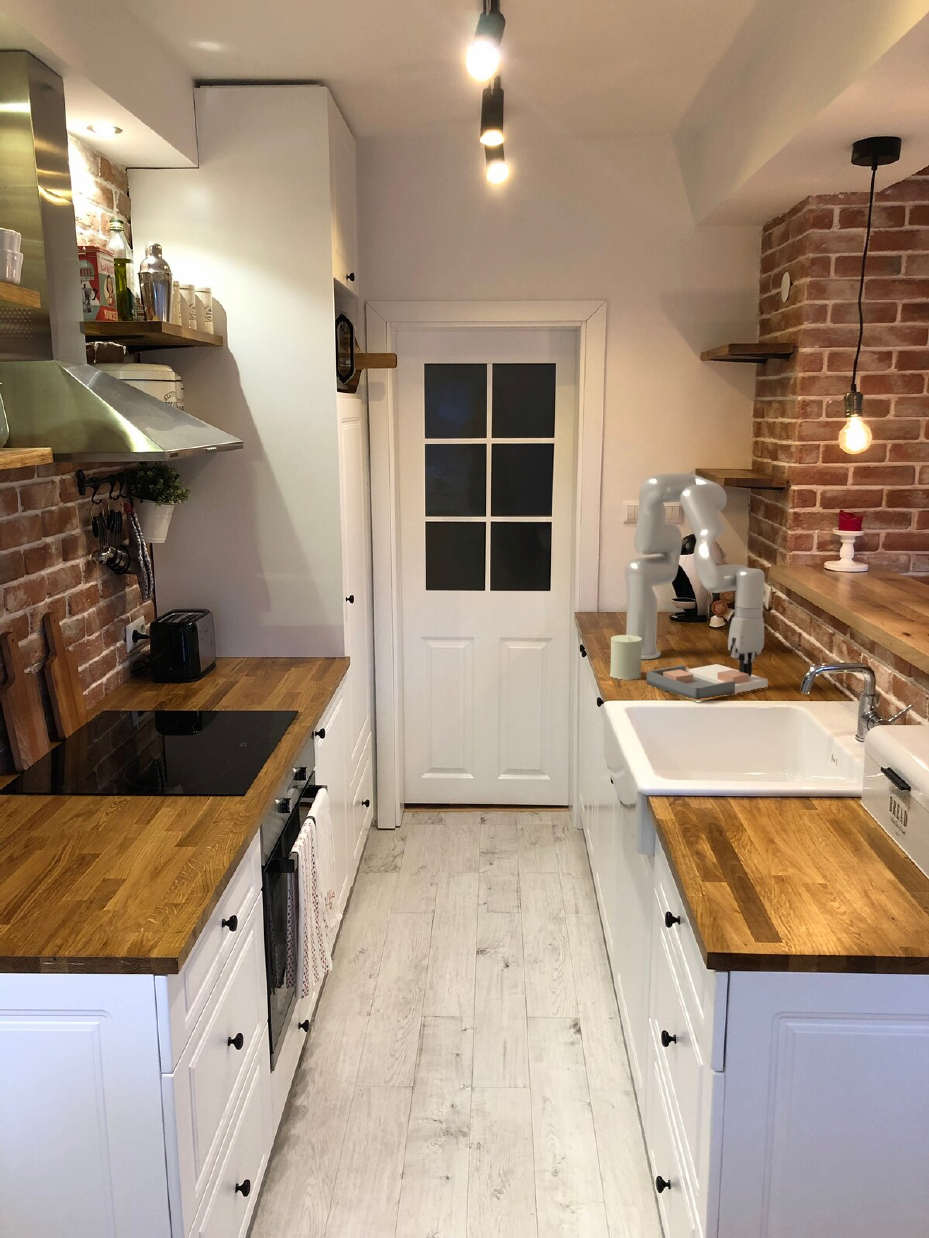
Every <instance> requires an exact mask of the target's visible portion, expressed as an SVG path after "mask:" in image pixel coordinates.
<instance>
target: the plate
mask: <svg viewBox="0 0 929 1238" xmlns="http://www.w3.org/2000/svg"><path fill="white" fill-rule="evenodd" d="M728 670H736V671H739V669H734V668H733V667H732V668H731V667H729V666H725V665H721V664H718V663H715V664H711V665H705V666H704V665H703V666H698V667H694V668H688V669H686V672H688V673H691V674H693V676H694V677H697V678H700V679H703V680H706V681H709V682H712V683H715V684H717V683H723V682H724V681H721V680H718V679H717V677H718V672H723V671H728ZM768 683H769V679H767V678H764V677H761V676H757V675H754V674H751V676H750V677H749V681H747V682H742V683H737V684H735V693H738V692H742V691H750V690H753V689H757V688H764V687H767V688H768ZM750 692H751V691H750Z"/></svg>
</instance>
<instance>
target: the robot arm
mask: <svg viewBox="0 0 929 1238" xmlns="http://www.w3.org/2000/svg"><path fill="white" fill-rule="evenodd" d="M638 491H639V492H638V515H637V520H636V525H635V534H634V541H633V542H634V549H635V551H636V552H637V553H638V554H640V555H648V556H644V557H638V558H634V559H632V560H631V561H629V562H628V563H627V564H626V566H625V569H624V581H625V585H626V629H625V630H626V632H625V633H626V634H625V635H633V636H638V637H641V638H642V647H641V660H653V659H657V658H660V657H661V653H662V652H661V651H660V650H659V649H657V625H658V599H657V595H656V593H655V591H654V590H653V588H654V587H660V586H665V585H669V584H671V583H672V582H674V580H675V579H676V577H677V574H678V570H679V564H680V559H681V551H682V546H683V536H682V535H683V534H682V532H681V530H680V528H679V527H678V526H677V525H676V524H675V523H672V522H666V520H667V519H666V517H667V511H666V506H665V504H664V503H678V502H679V503H680V505H681V508H682V510H683V511H684V514H685V516H686V519H687V521H688V523H689V525H690V528H691V529H692V533H693V535H694V537H695V541H696V542H695V545H694V550H693V565H694V569H695V572H696V574H697V576H698V578H699V581H700V583H701V584H702V586H703V588H704V589H705V590H707V591H708V592H710V593H713V594H718V593H725V592H735V596H734V597H735V599H734V616H733V617H731V618H732V619H731V621H730V625H729V626H730V627H729V631H728V632H729V633H728V638H727V639H728V640H727V650H728V651H729V652H731V654H730V657H731V658H734V659H737V661H738V662H739V667H738V671H739V672H743V673H746V674H749V677H750V676H751V674H752V673H753V671H752V670H753V669H752V668H753V664H754V662H755V658H756V657H757V655H760V654H761V653H762V650H763V648H764V646H765V622H764V617H763V611H764V610H765V609H764V594H765V593H764V592H765V591H764V590H765V579H766V578H765V576H766V575H765V572H764V571H763V570H762V569H760V568H752V567H748V566H745V565H742V564H739V563H733V564H732V563H731V564H724V565H723V564H722V565H717V564H716V560H715V559H714V555H713V553H712V547H713V543H714V542H715V541H716V540H717V539H719V537H721V536H722V535H723V533H724V532H725V526H724V524H723V521H722V519H721V518H720V515H719V512H720V511H722V510H723V509H724V508H725V507H726V505H727V501H728V500H727V493H726V491H725V489H724V488H723V486H722V485H720V484H718V483H716V482H715V481H711V480H710V479H706V478H704V477H702V476H700V475H697V474H694V473H687V472H685V473H667V474H666V473H665V474H657V475H652V476H650V477H647V478H646V479H645V480H643V482H642V483H641V486H640V488H639V490H638ZM649 555H653V556H649ZM654 555H655V556H654ZM752 675H753V674H752Z"/></svg>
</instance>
